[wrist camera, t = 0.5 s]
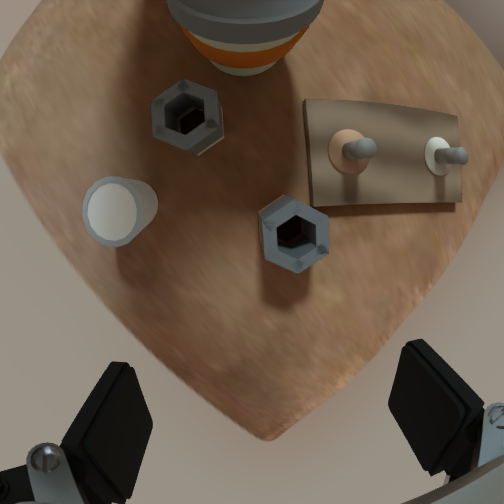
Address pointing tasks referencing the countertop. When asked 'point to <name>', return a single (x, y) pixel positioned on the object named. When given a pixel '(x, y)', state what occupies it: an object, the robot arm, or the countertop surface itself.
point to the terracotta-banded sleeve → (301, 246)
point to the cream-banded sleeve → (179, 105)
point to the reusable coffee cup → (244, 30)
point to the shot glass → (118, 209)
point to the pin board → (381, 154)
